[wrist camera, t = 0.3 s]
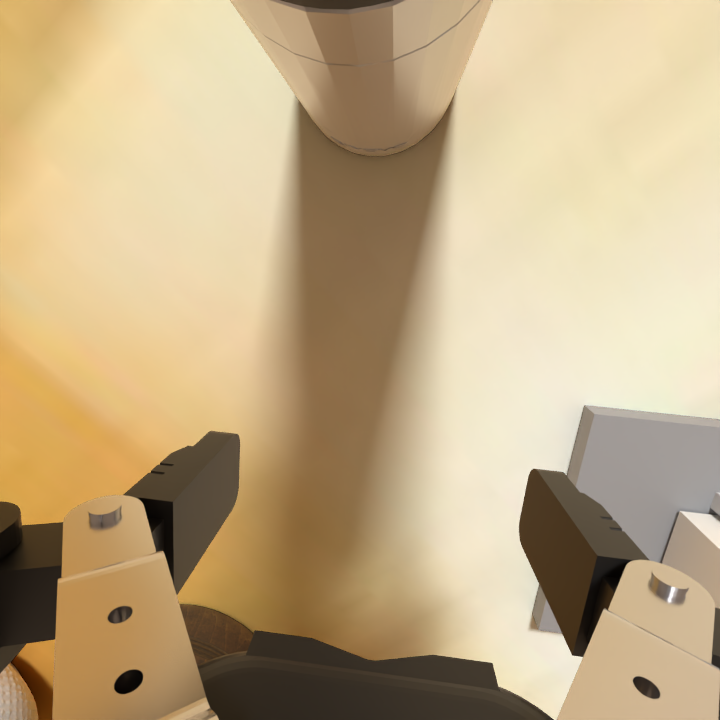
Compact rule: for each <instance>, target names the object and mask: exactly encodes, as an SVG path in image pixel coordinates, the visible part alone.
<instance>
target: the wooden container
mask: <svg viewBox="0 0 720 720" xmlns="http://www.w3.org/2000/svg"><path fill="white" fill-rule="evenodd" d="M179 605H180V609H181V612H182V616H183V619H184V622H185V626H186V629H187V633H188V636H189V640H190V643H191V647H192V650H193V653H194V657H195V660H196V664H197V665H199V664H201V663H204V662H206V661H208V660H211V659H214V658H217V657H220V656H223V655H227V654H232V653H236V652H243V651H247V650H248V647H249V645H250V642H251V639H252V637H253V633H252V632H251V631H250V630H248V629H247V628H246V627H245V626H243V625H242V624H240V623H239V622H237V621H236V620H234V619H232V618H230V617H229V616H227V615H224V614H222V613H220V612H218V611H215V610H212V609H209V608H205V607H201V606H195V605H186V604H179Z"/></svg>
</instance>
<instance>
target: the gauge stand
mask: <svg viewBox="0 0 720 720" xmlns="http://www.w3.org/2000/svg"><path fill="white" fill-rule="evenodd" d="M567 477H568V478H569V480H570V481H571V482H572V483H573V484H574V486H575V487H576V488H577V489H578V490H579V492H580V493H585V494H586V495H587V496H589V497H590V498H592V499H593V500H595V501H596V502H598V503H599V504H601V505H602V506H603V507H604V508H605V510H606V511H607V512H608V513H609V514H610V515H611V516H612V518H613V520H615V521H616V522H617V523H618V525H619V526H620V527H621V528H622V531H624V532H625V533H626V534H627V535H628V536H629V537H630V538H631V539H632V541H633V542H634V543H635V544H636V545H637V546H638V547H639V549H640V550H641V551H642V552H643V553H644V554H645V556H646V557H647V558H648V559H649V560H650V561H654V562H658V563H661V564H662V561H663V558H664V555H665V552H666V549H667V547H668V544H669V541H670V538H671V535H672V532H673V529H674V526H675V523H676V520H677V517H678V515H679V512H680V511H685V512H693V513H702V514H710V515H719V516H720V420H719V419H709V418H700V417H690V416H681V415H671V414H662V413H652V412H643V411H633V410H624V409H614V408H605V407H596V406H586V405H585V406H584V410H583V414H582V418H581V422H580V426H579V430H578V434H577V438H576V442H575V446H574V450H573V454H572V458H571V462H570V466H569V470H568V474H567ZM532 614H533V617H534V619H535V622H536V625H537V627H538V630H541V631H549V632H556V633H562V632H561V630H560V627H559V625H558V623H557V621H556V619H555V617H554V614H553V612H552V610H551V608H550V606H549V604H548V601H547V599H546V597H545V595H544V593H543V591H542V589H541V586H540V585H539V589H538V593H537V597H536V601H535V605H534V609H533V613H532Z"/></svg>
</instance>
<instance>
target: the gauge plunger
mask: <svg viewBox="0 0 720 720" xmlns="http://www.w3.org/2000/svg"><path fill="white" fill-rule="evenodd" d="M662 564H664V565H667V566H669V567H672V568H674V569H676V570H678V571H680V572H682V573H684V574H686V575H688V576H689V577H691V578H692V579H694V580H695V581H696V582H698V583H699V584H700V585H701V586H703V587H704V588H705V589H706V590H707V591H708V592H709V594H710V595H711V596H712V598H713V600H714V602H715V607H716V608H719V609H720V516H719V515H710V514H702V513H693V512H685V511H680V512H679V515H678V517H677V520H676V523H675V526H674V529H673V532H672V535H671V538H670V541H669V544H668V547H667V549H666V552H665V555H664V558H663V561H662Z"/></svg>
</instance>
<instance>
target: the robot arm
mask: <svg viewBox="0 0 720 720" xmlns="http://www.w3.org/2000/svg"><path fill="white" fill-rule="evenodd" d="M230 1H231V2H232V4H233V5H234V7H235V8H236V10H237V11H238V13H239V14H240V15H241V17H242V18H243V20H244V21H245V23H246V24H247V26H248V27H249V28H250V30H251V31H252V33H253V34H254V36H255V37H256V39H257V40H258V42H259V43H260V44H261V46H262V47H263V49H264V50H265V52H266V53H267V55H268V56H269V57H270V59H271V60H272V62H273V63H274V65H275V66H276V68H277V69H278V70H279V72H280V73H281V75H282V76H283V78H284V79H285V81H286V82H287V84H288V85H289V86H290V88H291V89H292V91H293V92H294V94H295V95H296V97H297V98H298V99H299V101H300V103H301V104H302V106H303V107H304V108H305V110H306V111H307V113H308V114H309V116H310V117H311V118H312V120H313V121H314V123H315V124H316V125H317V126H318V127H319V129H320V130H321V131H322V132H323V133H324V134H325V136H326V137H328V138H329V139H330V140H332V141H333V142H334V143H336V144H337V145H338V146H340V147H342V148H344V149H346V150H349V151H351V152H353V153H356V154H361V155H367V156H387V155H390V154H394V153H398V152H401V151H404V150H406V149H407V148H409V147H411V146H413V145H415V144H417V143H418V142H419V141H421V140H422V139H423V138H424V137H425V136H427V135H428V134H429V133H430V132H431V131H432V130H433V129H434V127H435V126H436V125H437V124H438V122H439V121H440V120H441V119H442V117H443V115H444V114H445V112H446V110H447V108H448V106H449V104H450V102H451V100H452V98H453V95H454V93H455V90H456V88H457V86H458V83H459V81H460V79H461V77H462V74H463V72H464V69H465V67H466V65H467V62H468V60H469V57H470V55H471V52H472V50H473V48H474V45H475V43H476V40H477V38H478V35H479V33H480V30H481V28H482V26H483V23H484V21H485V18H486V16H487V13H488V11H489V9H490V6H491V4H492V1H493V0H230ZM239 459H240V439H239V436H238V434H233V433H224V432H215V431H210V432H208V433H207V434H206V435H205V436H204V437H203V438H202V439H201V440H200V441H199V442H198V443H197V444H195V445H194V446H187V447H185V448H182V449H180V450H178V451H175V452H173V453H171V454H170V455H169V456H168V457H166V458H165V459H164V460H163V461H162V462H161V463H160V465H157V466H156V467H155V468H154V469H153V470H151V473H148V474H147V475H146V476H144V477H143V478H142V479H141V480H140V481H139V482H138V483H136V484H135V485H134V486H133V487H132V488H131V489H129V490H128V491H127V492H126V493H125V494H124V495H112V496H105V497H100V498H96V499H93V500H90V501H87V502H85V503H82V504H80V505H78V506H77V507H75V508H74V509H72V510H71V511H70V512H69V513H68V514H67V515H66V516H65V518H64V521H63V522H61V523H49V524H36V525H22V522H21V512H20V508H19V507H18V506H17V505H15V504H12V503H9V502H0V673H1V672H2V671H3V670H4V669H5V668H6V667H7V665H8V664H9V663H10V662H11V661H12V660H13V659H14V657H15V656H16V655H17V654H18V653H19V652H20V651H21V650H22V648H23V647H24V646H25V645H26V643H33V642H40V641H47V640H54V639H55V662H54V687H53V713H52V720H553V719H552V718H551V717H550V716H548V715H547V714H546V713H544V712H543V711H542V710H540V709H539V708H538V707H536V706H535V705H533V704H531V703H530V702H528V701H527V700H525V699H523V698H522V697H520V696H518V695H516V694H514V693H512V692H510V691H508V690H506V689H503V688H501V687H498V684H497V680H496V676H495V672H494V668H493V664H492V663H488V662H480V661H473V660H466V659H459V658H452V657H444V656H437V655H427V656H417V657H408V658H398V659H388V660H379V661H372V660H367V659H364V658H361V657H359V656H356V655H354V654H351V653H349V652H346V651H344V650H341V649H338V648H336V647H333V646H331V645H328V644H326V643H323V642H320V641H318V640H315V639H313V638H307V637H299V636H292V635H285V634H278V633H270V632H263V631H256V630H255V631H254V634H253V637H252V639H251V642H250V645H249V647H248V650H247V651H243V652H236V653H232V654H227V655H223V656H220V657H217V658H214V659H211V660H208V661H206V662H204V663H201V664H199V665H197V664H196V660H195V657H194V653H193V650H192V647H191V643H190V640H189V636H188V633H187V629H186V626H185V622H184V619H183V616H182V612H181V609H180V605H179V602H178V598H177V594H178V593H179V591H180V590H181V588H182V587H183V585H184V583H185V582H186V580H187V579H188V577H189V576H190V574H191V573H192V571H193V570H194V568H195V566H196V565H197V563H198V562H199V560H200V559H201V557H202V556H203V554H204V553H205V551H206V549H207V548H208V546H209V545H210V543H211V542H212V540H213V539H214V537H215V535H216V534H217V532H218V531H219V529H220V528H221V526H222V525H223V523H224V522H225V520H226V518H227V517H228V515H229V514H230V512H231V511H232V509H233V507H234V505H235V502H236V499H237V494H238V488H239ZM519 535H520V541H521V545H522V547H523V550H524V552H525V554H526V556H527V558H528V560H529V563H530V565H531V567H532V569H533V571H534V573H535V576H536V578H537V580H538V582H539V584H540V586H541V589H542V591H543V593H544V595H545V597H546V599H547V601H548V604H549V606H550V608H551V610H552V612H553V614H554V617H555V619H556V621H557V623H558V625H559V627H560V630H561V632H562V634H563V636H564V638H565V640H566V643H567V645H568V647H569V649H570V651H571V653H572V655H574V656H581V657H583V659H582V661H581V664H580V666H579V668H578V671H577V673H576V675H575V678H574V680H573V682H572V685H571V687H570V690H569V692H568V694H567V697H566V699H565V701H564V704H563V706H562V708H561V711H560V713H559V715H558V718H557V720H720V609H719V608H716V607H715V602H714V600H713V598H712V596H711V595H710V594H709V592H708V591H707V590H706V589H705V588H704V587H703V586H701V585H700V584H699V583H698V582H696V581H695V580H694V579H692V578H691V577H689V576H688V575H686V574H684V573H682V572H680V571H678V570H676V569H674V568H672V567H669V566H667V565H664V564H661V563H658V562H654V561H650V560H649V559H648V558H647V557H646V556H645V554H644V553H643V552H642V551H641V550H640V549H639V547H638V546H637V545H636V544H635V543H634V542H633V541H632V539H631V538H630V537H629V536H628V535H627V534H626V533H625V532H624V531H622V528H621V527H620V526H619V525H618V523H617V522H616V521H615V520H613V518H612V516H611V515H610V514H609V513H608V512H607V511H606V510H605V508H604V507H603V506H602V505H601V504H599V503H598V502H596V501H595V500H593V499H592V498H590V497H589V496H587V495H586V494H585V493H580V492H579V490H578V489H577V488H576V487H575V486H574V484H573V483H572V482H571V481H570V480H569V478H568V477H567V476H566V475H565V474H564V473H563V472H557V471H548V470H540V469H533V470H531V472H530V474H529V477H528V482H527V487H526V492H525V497H524V502H523V507H522V512H521V517H520V523H519Z"/></svg>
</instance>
